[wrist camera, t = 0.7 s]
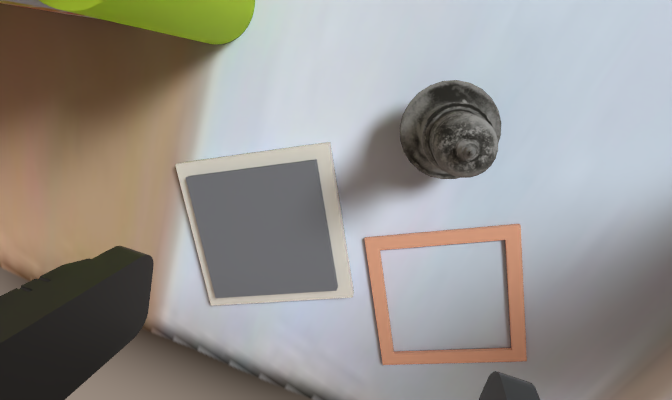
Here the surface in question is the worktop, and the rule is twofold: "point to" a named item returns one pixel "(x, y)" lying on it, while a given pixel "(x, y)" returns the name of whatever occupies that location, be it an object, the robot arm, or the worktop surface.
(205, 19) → the soap dispenser
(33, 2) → the cake pan box
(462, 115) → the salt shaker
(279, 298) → the ink pad
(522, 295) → the marked box
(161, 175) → the worktop surface
